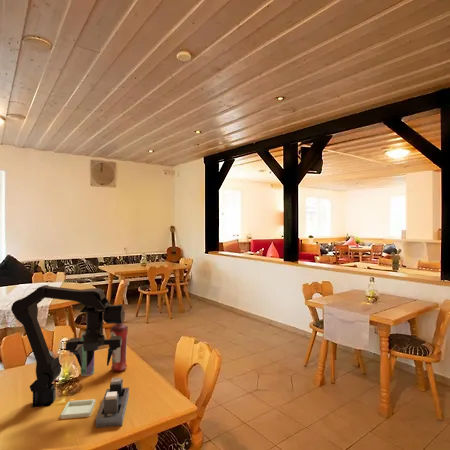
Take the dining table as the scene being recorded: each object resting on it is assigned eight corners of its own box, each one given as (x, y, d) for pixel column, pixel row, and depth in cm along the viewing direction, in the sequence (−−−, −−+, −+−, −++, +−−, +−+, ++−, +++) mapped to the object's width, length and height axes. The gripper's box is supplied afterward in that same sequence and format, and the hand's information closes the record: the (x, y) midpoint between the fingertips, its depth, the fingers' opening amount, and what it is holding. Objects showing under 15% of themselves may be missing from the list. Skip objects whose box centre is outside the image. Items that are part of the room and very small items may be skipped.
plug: (103, 422, 111) (104, 397, 111) (106, 415, 115) (106, 391, 115) (116, 421, 112) (116, 396, 112) (118, 414, 116) (118, 390, 116)
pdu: (95, 429, 108) (95, 402, 108) (106, 398, 128) (106, 375, 128) (122, 427, 109) (122, 400, 109) (128, 396, 129) (128, 374, 129)
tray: (60, 420, 113) (60, 415, 113) (68, 406, 122) (68, 401, 122) (89, 417, 115) (89, 412, 115) (95, 403, 124) (95, 399, 124)
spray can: (93, 375, 148) (93, 329, 148) (80, 377, 146) (80, 330, 146) (94, 370, 153) (95, 325, 153) (81, 371, 151) (81, 326, 151)
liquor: (107, 370, 153) (107, 307, 153) (120, 365, 159) (120, 304, 159) (117, 374, 148) (117, 310, 149) (130, 368, 154) (131, 306, 155)
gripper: (61, 331, 116) (60, 377, 116) (118, 328, 119) (118, 373, 119) (70, 322, 127) (69, 364, 127) (122, 320, 130) (122, 361, 130)
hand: (94, 366), depth 125 cm, fingers open, 9 cm apart
